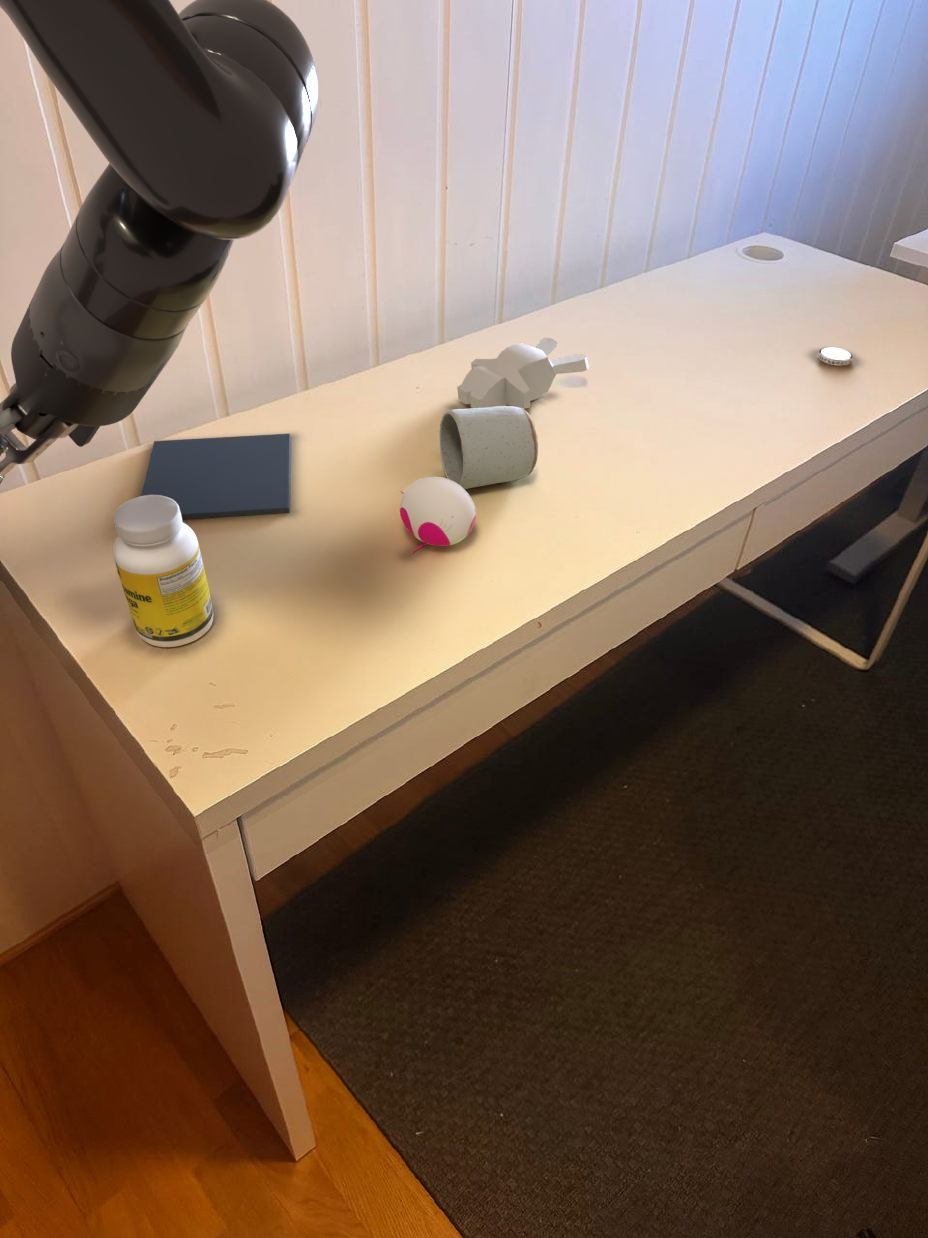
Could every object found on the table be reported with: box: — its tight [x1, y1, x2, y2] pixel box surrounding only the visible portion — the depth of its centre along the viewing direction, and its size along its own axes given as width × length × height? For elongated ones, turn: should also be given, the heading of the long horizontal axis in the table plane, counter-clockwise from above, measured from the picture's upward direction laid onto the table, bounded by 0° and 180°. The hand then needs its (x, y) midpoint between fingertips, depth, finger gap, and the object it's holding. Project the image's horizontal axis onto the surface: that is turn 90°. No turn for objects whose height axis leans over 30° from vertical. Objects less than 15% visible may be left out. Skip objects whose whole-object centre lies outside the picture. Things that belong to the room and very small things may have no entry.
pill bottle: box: [112, 495, 214, 648], centre depth 69 cm, size 6×6×11 cm
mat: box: [140, 433, 292, 520], centre depth 89 cm, size 14×14×1 cm
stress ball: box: [399, 475, 477, 555], centre depth 80 cm, size 8×8×7 cm
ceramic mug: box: [438, 405, 539, 490], centre depth 88 cm, size 11×8×8 cm
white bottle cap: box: [817, 346, 854, 366], centre depth 111 cm, size 4×4×1 cm
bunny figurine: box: [456, 337, 590, 410], centre depth 102 cm, size 10×5×15 cm
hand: (25, 461), depth 62 cm, fingers open, 8 cm apart
